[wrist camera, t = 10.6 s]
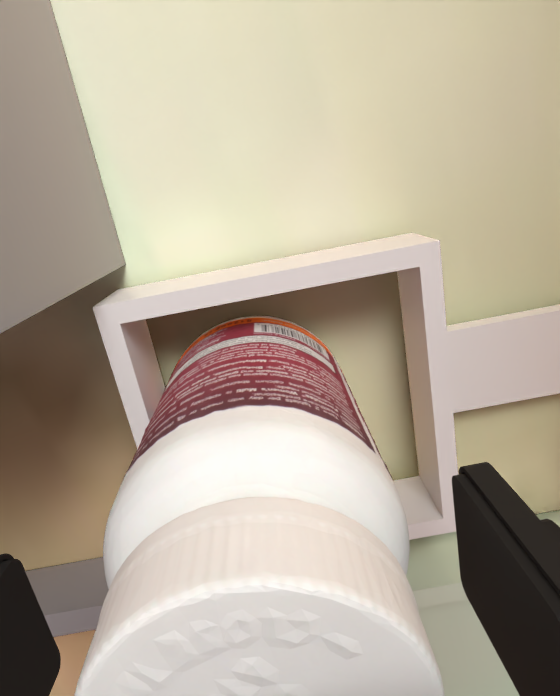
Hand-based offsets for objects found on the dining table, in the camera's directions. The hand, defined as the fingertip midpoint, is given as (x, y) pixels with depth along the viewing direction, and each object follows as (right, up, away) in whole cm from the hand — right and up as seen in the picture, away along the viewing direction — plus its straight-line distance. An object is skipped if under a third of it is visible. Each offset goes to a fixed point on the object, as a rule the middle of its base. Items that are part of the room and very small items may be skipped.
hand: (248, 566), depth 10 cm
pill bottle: (0, +3, +7) cm, 8 cm away
